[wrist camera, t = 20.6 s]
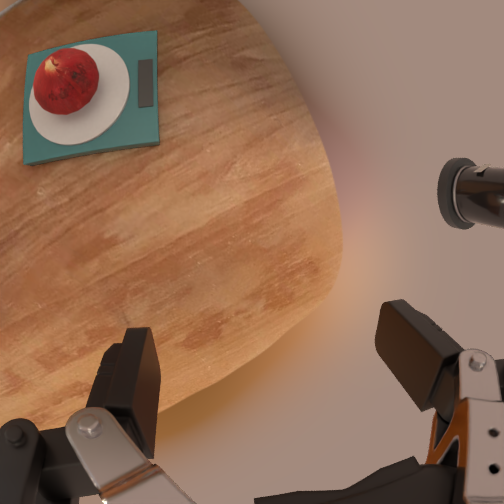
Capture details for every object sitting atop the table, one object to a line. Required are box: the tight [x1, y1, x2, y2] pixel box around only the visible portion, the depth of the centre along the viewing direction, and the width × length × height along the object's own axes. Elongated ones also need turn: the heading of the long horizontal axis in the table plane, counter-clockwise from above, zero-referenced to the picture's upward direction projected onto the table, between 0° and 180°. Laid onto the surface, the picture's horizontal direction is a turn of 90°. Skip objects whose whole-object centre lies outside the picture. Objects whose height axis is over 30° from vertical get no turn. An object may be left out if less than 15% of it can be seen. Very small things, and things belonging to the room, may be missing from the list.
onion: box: [33, 48, 99, 115], centre depth 20 cm, size 6×6×8 cm
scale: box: [23, 30, 160, 166], centre depth 25 cm, size 14×12×3 cm
